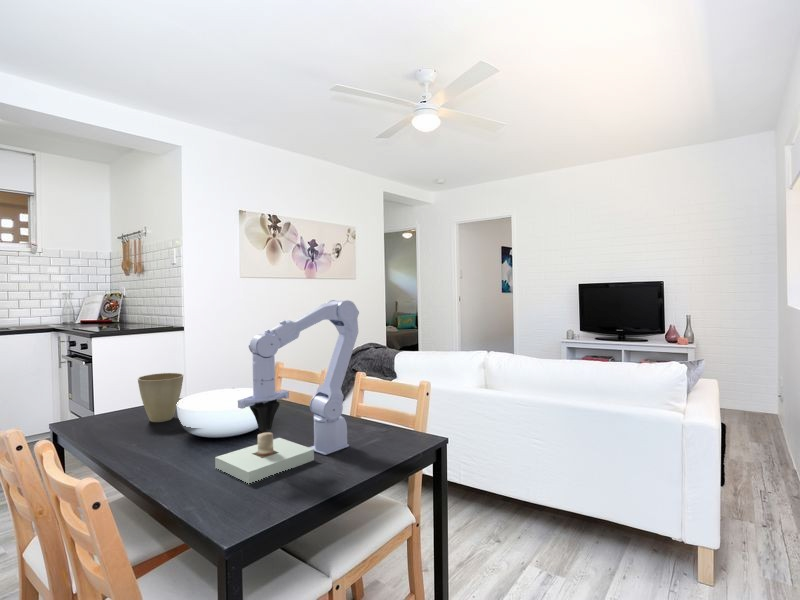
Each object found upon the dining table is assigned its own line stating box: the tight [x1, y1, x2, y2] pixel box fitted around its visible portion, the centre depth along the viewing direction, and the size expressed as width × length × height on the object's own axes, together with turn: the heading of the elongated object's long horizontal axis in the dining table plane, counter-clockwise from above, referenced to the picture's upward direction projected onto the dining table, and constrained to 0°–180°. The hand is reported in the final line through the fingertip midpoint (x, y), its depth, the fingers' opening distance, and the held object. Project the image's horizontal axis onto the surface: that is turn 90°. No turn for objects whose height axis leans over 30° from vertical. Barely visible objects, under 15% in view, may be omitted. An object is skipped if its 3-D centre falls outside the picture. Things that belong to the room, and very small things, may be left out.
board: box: [214, 437, 315, 485], centre depth 122 cm, size 20×16×3 cm
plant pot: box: [137, 372, 184, 423], centre depth 167 cm, size 15×15×16 cm
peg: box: [257, 431, 274, 458], centre depth 122 cm, size 4×4×8 cm
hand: (265, 429), depth 122 cm, fingers closed
